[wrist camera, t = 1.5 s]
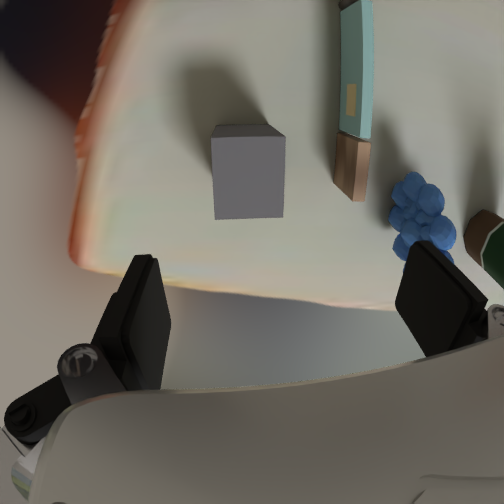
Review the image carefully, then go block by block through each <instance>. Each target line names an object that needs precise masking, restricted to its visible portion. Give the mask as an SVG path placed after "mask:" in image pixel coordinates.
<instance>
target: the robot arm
mask: <svg viewBox="0 0 504 504" xmlns="http://www.w3.org/2000/svg"><path fill="white" fill-rule="evenodd" d="M487 301H488V299H487V298H486V297H485V296H484V294H483V293H482V292H481V291H480V290H479V289H478V288H477V287H476V286H475V285H474V284H473V283H472V282H471V281H470V280H469V279H468V278H467V277H466V276H465V275H464V274H463V273H462V272H461V271H460V270H459V269H458V268H457V267H456V266H455V265H454V264H453V263H452V262H451V261H450V260H449V259H448V258H447V257H446V256H445V255H444V254H443V253H442V252H441V251H440V250H439V249H438V248H436V247H435V246H434V245H433V244H432V243H431V242H430V241H428V240H425V241H415V242H414V243H413V245H411V246H410V249H409V253H408V257H407V261H406V265H405V268H404V272H403V276H402V279H401V283H400V286H399V290H398V293H397V296H396V300H395V306H396V309H397V311H398V312H399V314H400V315H401V317H402V318H403V320H404V322H405V323H406V325H407V326H408V328H409V330H410V331H411V333H412V334H413V336H414V338H415V339H416V341H417V343H418V344H419V346H420V348H421V349H422V351H423V353H424V354H425V356H426V358H422V359H418V360H414V361H410V362H406V363H402V364H397V365H393V366H388V367H383V368H379V369H374V370H369V371H364V372H358V373H352V374H347V375H341V376H334V377H328V378H321V379H314V380H307V381H298V382H290V383H280V384H270V385H258V386H244V387H227V388H206V389H164V390H160V388H161V381H162V375H163V369H164V363H165V357H166V351H167V346H168V340H169V335H170V329H171V319H170V313H169V309H168V305H167V301H166V296H165V292H164V287H163V282H162V278H161V273H160V268H159V263H158V260H157V258H153V257H152V255H151V254H145V255H135V256H134V258H133V260H132V262H131V264H130V266H129V268H128V270H127V272H126V274H125V276H124V278H123V280H122V282H121V284H120V287H119V289H118V291H117V292H115V293H113V295H112V296H111V298H110V301H109V303H108V305H107V307H106V309H105V311H104V313H103V316H102V318H101V320H100V322H99V325H98V327H97V329H96V332H95V334H94V337H93V339H92V341H91V344H88V343H82V344H77V345H74V346H72V347H70V348H69V349H67V350H66V351H65V352H64V353H63V354H62V355H61V357H60V358H59V360H58V364H57V369H58V375H57V376H55V377H53V378H52V379H50V380H48V381H47V382H45V383H43V384H42V385H40V386H38V387H36V388H35V389H33V390H31V391H29V392H28V393H26V394H25V395H23V396H21V397H19V398H18V399H16V400H15V401H13V402H12V403H11V404H10V405H9V406H8V408H7V410H6V412H5V417H4V422H5V425H4V427H3V428H1V427H0V504H504V306H503V305H499V304H493V305H491V306H490V307H489V308H488V310H487V311H486V310H485V309H484V308H485V306H486V304H487Z"/></svg>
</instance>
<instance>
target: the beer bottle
mask: <svg viewBox="0 0 504 504" xmlns="http://www.w3.org/2000/svg"><path fill="white" fill-rule="evenodd" d="M464 242H465V246H466V251H467V253H468V254H469V255H470V256H471V257H472V258H473V259H474V260H475V261H476V262H477V263H478V264H479V265H480V266H481V267H482V268H483V269H484V270H485V271H486V272H487V273H488V274H489V275H490V276H491V277H492V278H493V279H494V280H495V281H496V282H497V283H498V284H499V285H500V286H501V287H502V288H503V289H504V219H503V218H501V217H499V216H498V215H496V214H494V213H491V212H489V211H486V210H482V211H480V212H479V213H478V214H477V215H476V216H474V217H473V218H472V219H471V220H470V222H469V224H468V227H467V230H466V232H465V235H464Z"/></svg>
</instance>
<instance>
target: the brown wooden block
mask: <svg viewBox="0 0 504 504" xmlns="http://www.w3.org/2000/svg"><path fill="white" fill-rule="evenodd" d="M357 1H359V0H342V1H340V2H339V4H338V6H339V8H340V9H341V10H344V9H346V8H347V7H349V6H350V5H352V4H354V3H355V2H357ZM370 148H371V143H370V142H367V141H365V140H362V139H360V138H358V137H355V136H353V135H350V134H345V133H337V145H336V159H335V172H334V184H335V185H336V186H337V187H338V188H339V189H340V190H341V191H342V192H343V193H344V194H345V195H347V196H348V197H349V198H350V199H351V200H352V201H365V193H366V186H367V177H368V168H369V159H370Z"/></svg>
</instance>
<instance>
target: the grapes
mask: <svg viewBox="0 0 504 504" xmlns="http://www.w3.org/2000/svg"><path fill="white" fill-rule="evenodd" d="M391 197H392V199H393V200H394V202H395V203H396V206H394V207H393V208H392V210H391V211H390V214H389V218H388V221H389V222H390V224H391V225H392V227H393V228H394V229H395V230H397V231H398V232H400V234H399V235H398V236H397V237H396V239H395V241H394V244H393V248H392V249H393V250H394V252H395V253H396V255H397V256H398V257H399V258H400V259H401V260H404V261H407V257H408V253H409V249H410V246H411V245H413V243H414V242H415V241H425V240H428V241H430V242H431V243H432V244H433V245H434V246H435V247H436V248H438V249H439V250H440V251H441V252H442V253H443V254H444V255H445V256H446V257H447V258H448V259H449V260H450V261H451V262H452V263H453V264H454V261H453V258H452V256H451V255H450V253H449V252H448V251H446V250H449V249H451V248H452V246H453V245H454V243H455V240H456V229H455V226H454V225H453V223H452V221H451V220H449V219H448V218H447V217H446V216H442V215H441V212H442V211H443V209H444V204H445V200H444V196H443V194H442V193H441V191H440V189H438V188H437V187H436V186H435V185H433V184H427V183H426V181H425V180H424V178H423V177H422V176H421V175H420V174H418V173H417V172H410V173H408V174H407V175H406V177H405V178H404V181H400V182H398V183H396V185H395V186H394V188H393V191H392V195H391ZM405 265H406V263H405ZM404 268H405V266H404ZM403 272H404V269H403Z"/></svg>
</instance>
